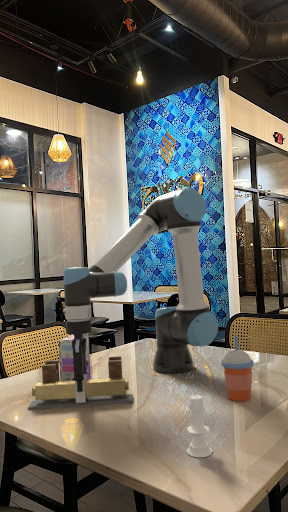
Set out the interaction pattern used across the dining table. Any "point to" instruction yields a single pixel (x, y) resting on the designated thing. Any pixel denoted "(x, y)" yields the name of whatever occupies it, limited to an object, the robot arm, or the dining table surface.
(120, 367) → the post
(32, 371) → the dining table surface
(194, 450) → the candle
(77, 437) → the dining table surface
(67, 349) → the candy box
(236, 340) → the cup with straw
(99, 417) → the dining table surface
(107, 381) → the rail
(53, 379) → the post
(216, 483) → the dining table surface
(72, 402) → the grey plank
